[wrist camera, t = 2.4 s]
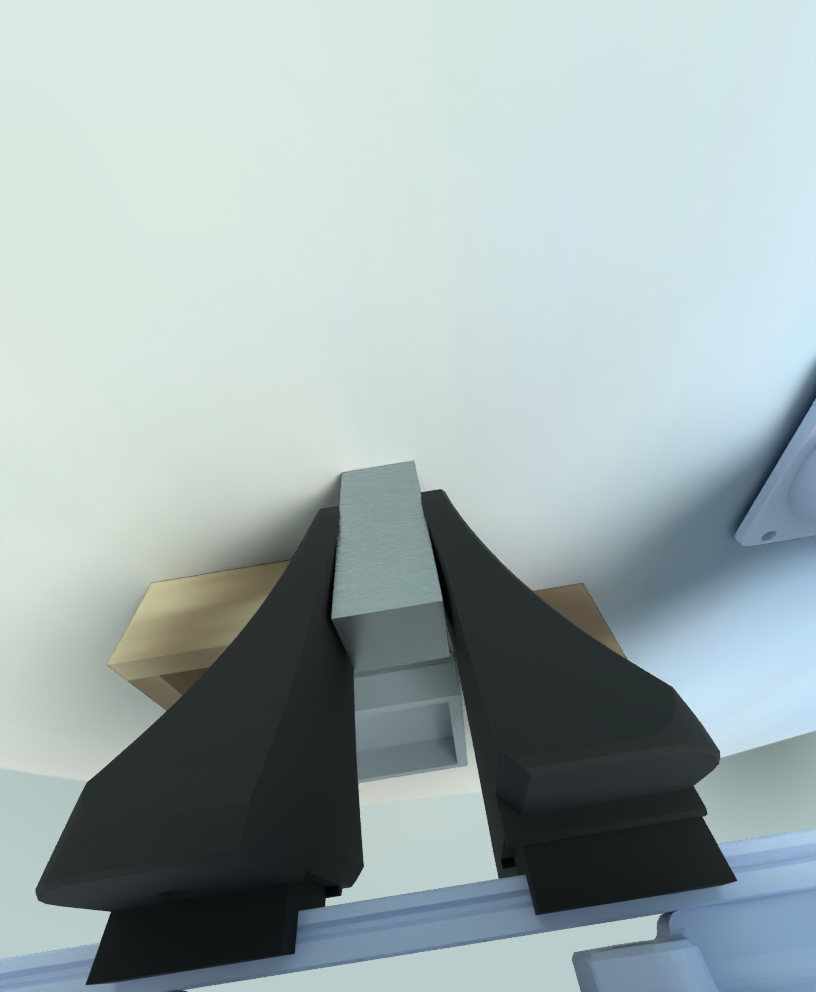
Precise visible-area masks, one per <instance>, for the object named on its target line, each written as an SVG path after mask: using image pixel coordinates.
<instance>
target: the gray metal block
mask: <svg viewBox="0 0 816 992" xmlns="http://www.w3.org/2000/svg"><path fill="white" fill-rule="evenodd" d="M420 497H421V492H420V487H419V482H418V477H417V472H416V468H415V463H414V461H410V462H404V463H398V464H392V465H386V466H380V467H374V468H368V469H362V470H356V471H350V472H344V473H342V478H341V492H340V506H339V511H340V519H339V530H338V535H337V547H336V561H335V575H334V589H333V603H332V617H331V619H332V621H333V624H334V626H335V628H336V630H337V632H338V634H339V637H340V639H341V641H342V643H343V645H344V647H345V649H346V652H347V654H348V656H349V658H350V660H351V662H352V665H353V667H354V669H355V671H356V672H360V671H366V670H372V669H379V668H385V667H391V666H397V665H403V664H409V663H415V662H421V661H427V660H434V659H440V658H446V657H450V656H449V647H448V639H447V631H446V623H445V615H444V606H443V599H442V594H441V589H440V585H439V580H438V575H437V570H436V565H435V560H434V555H433V550H432V546H431V541H430V536H429V531H428V526H427V522H426V519H425V516H424V513H423V508H422V503H421V498H420Z"/></svg>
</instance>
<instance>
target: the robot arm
mask: <svg viewBox="0 0 816 992" xmlns="http://www.w3.org/2000/svg"><path fill="white" fill-rule="evenodd" d="M420 498H421V503H422V508H423V513H424V516H425V519H426V522H427V526H428V531H429V536H430V541H431V546H432V550H433V555H434V560H435V565H436V570H437V575H438V580H439V585H440V589H441V594H442V599H443V606H444V615H445V620H446V624H447V627H448V631H449V634H450V637H451V641H452V644H453V648H454V652H455V656H456V660H457V665H458V670H459V675H460V680H461V685H462V690H463V695H464V700H465V705H466V711H467V716H468V721H469V726H470V731H471V736H472V741H473V747H474V752H475V757H476V762H477V768H478V773H479V778H480V783H481V789H482V794H483V799H484V804H485V810H486V815H487V820H488V825H489V831H490V836H491V842H492V847H493V852H494V857H495V862H496V867H497V872H498V877H499V879H496V880H490V881H483V882H477V883H471V884H465V885H458V886H452V887H446V888H439V889H434V890H427V891H421V892H415V893H408V894H402V895H396V896H390V897H384V898H378V899H371V900H365V901H358V902H352V903H346V904H340V905H334V906H327V907H325V899H326V898H330V897H336V896H341V893H342V889H343V888H349V887H352V885H353V884H354V883H355V881H356V880H357V878H358V876H359V875H360V873H361V871H362V869H363V867H364V863H363V850H362V836H361V822H360V808H359V790H358V772H357V754H356V729H355V700H354V667H353V665H352V662H351V660H350V658H349V656H348V654H347V652H346V649H345V647H344V645H343V643H342V641H341V639H340V637H339V634H338V632H337V630H336V628H335V626H334V624H333V621H332V619H331V617H332V603H333V589H334V575H335V561H336V547H337V535H338V530H339V519H340V511H339V506H336V507H330V508H324V509H320V510H319V511H318V513H317V514H316V516H315V518H314V520H313V522H312V524H311V526H310V527H309V529H308V531H307V533H306V535H305V537H304V538H303V540H302V542H301V544H300V546H299V547H298V549H297V551H296V552H295V554H294V556H293V557H292V559H291V561H290V562H289V564H288V566H287V567H286V569H285V571H284V572H283V574H282V575H281V577H280V578H279V580H278V581H277V583H276V584H275V586H274V587H273V589H272V590H271V592H270V593H269V595H268V596H267V598H266V599H265V600H264V602H263V603H262V605H261V606H260V607H259V609H258V610H257V611H256V613H255V614H254V615H253V617H252V618H251V619H250V620H249V622H248V623H247V624H246V626H245V627H244V628H243V629H242V631H241V632H240V633H239V634H238V636H237V637H236V638H235V639H234V640H233V641H232V643H231V644H230V645H229V646H228V647H227V648H226V650H225V651H224V652H223V653H222V654H221V655H220V656H219V657H218V659H217V660H216V661H215V662H214V663H213V664H212V665H211V666H210V667H209V669H208V670H207V671H206V672H205V673H204V674H203V675H202V676H201V677H200V678H199V679H198V680H197V681H196V682H195V683H194V684H193V685H192V686H191V687H190V688H189V689H188V691H187V692H186V693H185V694H184V695H183V696H182V697H181V698H180V699H179V700H178V701H177V702H176V703H174V704H173V705H172V706H171V707H170V708H169V709H168V710H167V711H166V712H165V713H164V714H163V715H162V716H161V717H160V718H159V719H158V720H157V721H156V722H155V723H154V724H153V725H152V726H150V727H149V728H148V729H147V730H146V731H145V732H144V733H143V734H142V735H141V736H139V737H138V738H137V739H136V740H135V741H134V742H133V743H132V744H130V745H129V746H128V747H127V748H126V749H125V750H124V751H123V752H121V753H120V754H119V755H118V756H117V757H116V758H115V759H114V760H112V761H111V762H110V763H109V764H108V765H107V766H106V767H105V768H103V769H102V770H101V771H100V772H99V773H98V774H96V775H95V776H94V777H93V778H92V779H91V780H89V781H88V782H87V783H86V785H85V787H84V789H83V791H82V793H81V795H80V797H79V799H78V801H77V803H76V805H75V807H74V809H73V811H72V813H71V815H70V818H69V820H68V822H67V824H66V826H65V828H64V830H63V832H62V834H61V837H60V839H59V841H58V843H57V845H56V847H55V849H54V851H53V853H52V855H51V858H50V860H49V862H48V864H47V866H46V868H45V870H44V872H43V874H42V876H41V879H40V881H39V883H38V885H37V887H36V896H37V898H38V900H39V901H41V902H43V903H45V904H50V905H57V906H64V907H73V908H82V909H91V910H102V911H110V912H111V914H110V917H109V919H108V922H107V925H106V928H105V931H104V934H103V936H102V939H101V942H100V943H97V944H91V945H84V946H78V947H72V948H66V949H59V950H53V951H47V952H41V953H34V954H28V955H22V956H16V957H10V958H4V959H0V992H187V991H183V990H186V989H193V988H199V987H205V986H211V985H218V984H223V983H230V982H236V981H242V980H248V979H255V978H261V977H267V976H274V975H280V974H287V973H293V972H299V971H305V970H311V969H318V968H324V967H330V966H336V965H343V964H349V963H355V962H361V961H368V960H373V959H380V958H387V957H393V956H399V955H406V954H412V953H418V952H424V951H430V950H437V949H443V948H449V947H455V946H462V945H468V944H474V943H481V942H487V941H493V940H499V939H506V938H512V937H518V936H525V935H530V934H537V933H543V932H550V931H556V930H562V929H568V928H575V927H580V926H587V925H593V924H600V923H606V922H612V921H618V920H625V919H631V918H637V917H644V916H649V915H656V914H662V913H664V914H662V915H660V917H659V920H658V922H657V936H656V938H655V939H654V940H648V941H639V942H632V943H625V944H619V945H613V946H607V947H601V948H596V949H591V950H585V951H579V952H574V954H573V957H572V962H573V965H574V968H575V972H576V976H577V979H578V983H579V986H580V990H581V992H816V828H813V829H807V830H801V831H795V832H789V833H782V834H776V835H770V836H764V837H757V838H751V839H745V840H739V841H732V842H726V843H720V844H717V843H716V841H715V839H714V837H713V835H712V834H711V832H710V830H709V828H708V826H707V825H706V823H705V821H704V819H703V816H706V815H707V810H706V807H705V805H704V804H703V802H702V800H701V798H700V797H699V795H698V793H697V791H696V790H695V788H694V785H695V784H696V783H698V782H699V781H700V780H701V779H703V778H704V777H705V776H706V775H708V774H709V773H710V772H711V771H713V770H714V769H715V768H716V766H717V765H718V764H719V760H720V751H719V749H718V748H717V746H716V745H715V743H714V742H713V740H712V739H711V737H710V736H709V734H708V733H707V731H706V730H705V728H704V726H703V725H702V724H701V722H700V721H699V720H698V718H697V717H696V716H695V715H694V713H693V712H692V711H691V709H690V708H689V707H688V706H687V704H686V703H685V702H684V701H683V699H682V698H681V697H680V696H679V694H678V693H677V692H676V691H675V689H674V688H673V687H672V686H670V685H668V684H667V683H665V682H663V681H661V680H660V679H658V678H656V677H655V676H653V675H651V674H650V673H648V672H646V671H645V670H643V669H641V668H640V667H638V666H637V665H635V664H633V663H632V662H630V661H629V660H627V659H626V658H624V657H622V656H621V655H619V654H618V653H616V652H615V651H613V650H612V649H610V648H609V647H607V646H606V645H604V644H603V643H601V642H600V641H598V640H597V639H595V638H594V637H592V636H591V635H589V634H588V633H586V632H585V631H584V630H582V629H581V628H580V627H578V626H577V625H576V624H574V623H573V622H572V621H570V620H569V619H567V618H566V617H565V616H563V615H562V614H561V613H559V612H558V611H557V610H555V609H554V608H553V607H551V606H550V605H549V604H547V603H546V602H545V601H544V600H543V599H541V598H540V597H539V596H538V595H537V594H535V593H534V592H533V591H532V590H531V589H529V588H528V587H527V586H526V585H525V584H524V583H523V582H522V581H520V580H519V579H518V578H517V577H516V576H515V575H514V574H513V573H512V572H511V571H510V570H508V569H507V568H506V567H505V566H504V565H503V564H502V563H501V562H500V561H499V560H498V559H497V557H496V556H495V555H494V554H493V553H492V552H491V551H490V550H489V549H488V548H487V547H486V546H485V545H484V544H483V543H482V541H481V540H480V539H479V538H478V537H477V536H476V534H475V533H474V532H473V531H472V530H471V528H470V527H469V526H468V525H467V524H466V522H465V521H464V520H463V518H462V517H461V516H460V514H459V513H458V512H457V510H456V509H455V507H454V506H453V504H452V503H451V501H450V500H449V498H448V496H447V495H446V493H445V491H443V490H441V489H439V490H433V491H427V492H421V497H420ZM810 536H816V399H815V401H814V402H813V404H812V406H811V407H810V409H809V411H808V413H807V414H806V416H805V418H804V419H803V421H802V423H801V424H800V426H799V428H798V429H797V431H796V433H795V434H794V436H793V438H792V439H791V441H790V443H789V444H788V446H787V448H786V449H785V451H784V453H783V454H782V456H781V458H780V459H779V461H778V463H777V464H776V466H775V468H774V469H773V471H772V473H771V475H770V476H769V478H768V480H767V481H766V483H765V485H764V486H763V488H762V490H761V491H760V493H759V495H758V496H757V498H756V500H755V501H754V503H753V505H752V506H751V508H750V510H749V511H748V513H747V515H746V516H745V518H744V520H743V521H742V523H741V525H740V526H739V528H738V530H737V531H736V533H735V540H736V541H737V542H739V543H740V544H741V545H742V546H755V545H761V544H767V543H773V542H779V541H785V540H791V539H798V538H804V537H810Z"/></svg>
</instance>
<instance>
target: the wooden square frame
mask: <svg viewBox="0 0 816 992" xmlns="http://www.w3.org/2000/svg"><path fill="white" fill-rule="evenodd" d="M290 561H291V560H289V561H283V562H276V563H270V564H264V565H258V566H252V567H246V568H240V569H234V570H228V571H222V572H216V573H210V574H204V575H198V576H192V577H186V578H180V579H174V580H168V581H162V582H156V583H151V585H150V587H149V589H148V591H147V592H146V594H145V596H144V598H143V600H142V602H141V603H140V605H139V607H138V609H137V611H136V612H135V614H134V616H133V618H132V620H131V621H130V623H129V625H128V627H127V629H126V630H125V632H124V634H123V636H122V638H121V640H120V641H119V643H118V645H117V647H116V649H115V650H114V652H113V654H112V656H111V658H110V659H109V661H108V663H107V666H108V667H110V668H111V669H112V670H114V671H115V672H116V673H118V674H119V675H120V676H122V677H123V678H124V679H126V680H127V681H128V682H130V683H131V684H132V685H134V686H135V687H136V688H137V689H139V690H140V691H141V692H143V693H144V694H145V695H147V696H148V697H149V698H151V699H152V700H153V701H155V702H156V703H157V704H159V705H160V706H161V707H163V708H164V709H165V710H168V709H169V708H170V707H171V706H172V705H173V704H174V703H176V702H177V701H178V700H179V699H180V698H181V697H182V696H183V695H184V694H185V693H186V692H187V691H188V689H189V688H190V687H191V686H192V685H193V684H194V683H195V682H196V681H197V680H198V679H199V678H200V677H201V676H202V675H203V674H204V673H205V672H206V671H207V670H208V669H209V667H210V666H211V665H212V664H213V663H214V662H215V661H216V660H217V659H218V657H219V656H220V655H221V654H222V653H223V652H224V651H225V650H226V648H227V647H228V646H229V645H230V644H231V643H232V641H233V640H234V639H235V638H236V637H237V636H238V634H239V633H240V632H241V631H242V629H243V628H244V627H245V626H246V624H247V623H248V622H249V620H250V619H251V618H252V617H253V615H254V614H255V613H256V611H257V610H258V609H259V607H260V606H261V605H262V603H263V602H264V600H265V599H266V598H267V596H268V595H269V593H270V592H271V590H272V589H273V587H274V586H275V584H276V583H277V581H278V580H279V578H280V577H281V575H282V574H283V572H284V571H285V569H286V567H287V566H288V564H289V562H290Z"/></svg>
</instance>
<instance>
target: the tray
mask: <svg viewBox="0 0 816 992" xmlns="http://www.w3.org/2000/svg"><path fill="white" fill-rule="evenodd" d="M449 656H450V657H446V658H440V659H434V660H427V661H421V662H415V663H409V664H403V665H397V666H391V667H385V668H379V669H372V670H366V671H360V672H356V671H355V669H354V700H355V729H356V754H357V772H358V783H362V782H368V781H375V780H381V779H387V778H393V777H399V776H405V775H412V774H418V773H424V772H430V771H436V770H442V769H449V768H455V767H461V766H467V765H468V764H467V754H466V743H465V733H464V722H463V712H462V702H461V693H460V688H459V683H458V678H457V673H456V668H455V663H454V658H453V653H449Z"/></svg>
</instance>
